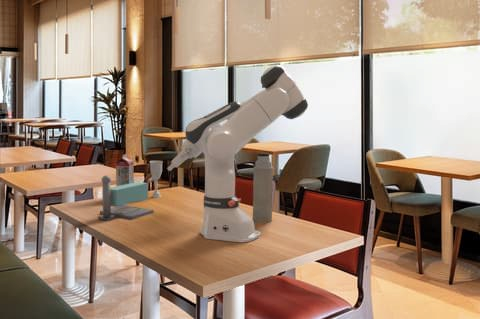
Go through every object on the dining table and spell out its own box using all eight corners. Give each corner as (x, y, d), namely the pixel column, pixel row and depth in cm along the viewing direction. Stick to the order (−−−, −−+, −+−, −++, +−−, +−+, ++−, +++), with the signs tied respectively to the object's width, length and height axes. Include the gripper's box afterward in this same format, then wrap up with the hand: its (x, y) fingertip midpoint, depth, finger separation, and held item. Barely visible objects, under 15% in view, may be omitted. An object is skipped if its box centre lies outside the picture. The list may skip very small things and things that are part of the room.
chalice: (160, 198, 239) (160, 162, 237) (147, 197, 241) (147, 162, 239) (165, 195, 247) (165, 161, 244) (152, 194, 248) (152, 160, 246)
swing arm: (109, 217, 194) (108, 176, 192) (98, 215, 197) (97, 175, 195) (148, 206, 215) (147, 169, 213) (137, 205, 218) (137, 168, 216)
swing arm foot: (115, 218, 198) (115, 215, 198) (107, 221, 194) (107, 218, 193) (106, 216, 200) (106, 214, 200) (98, 219, 196) (97, 216, 196)
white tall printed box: (133, 197, 241) (133, 154, 238) (129, 200, 234) (128, 155, 232) (121, 196, 242) (120, 153, 239) (116, 199, 235) (115, 155, 232)
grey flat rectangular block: (153, 212, 209) (153, 209, 209) (131, 219, 197) (131, 216, 197) (122, 207, 218) (122, 204, 218) (99, 213, 206) (99, 210, 205)
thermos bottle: (271, 218, 203) (273, 152, 200) (271, 222, 195) (273, 154, 192) (253, 217, 204) (254, 152, 200) (252, 222, 196) (253, 154, 192)
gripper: (194, 156, 200) (170, 178, 201) (198, 151, 220) (176, 171, 221) (183, 144, 199) (159, 167, 200) (189, 141, 219) (167, 161, 220)
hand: (168, 169), depth 211 cm, fingers closed
